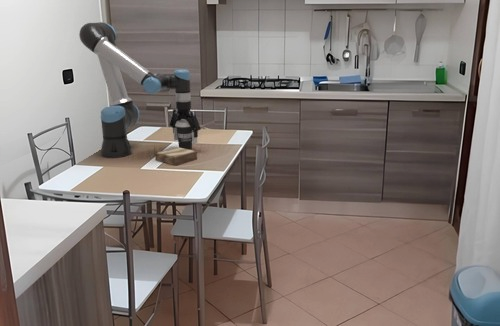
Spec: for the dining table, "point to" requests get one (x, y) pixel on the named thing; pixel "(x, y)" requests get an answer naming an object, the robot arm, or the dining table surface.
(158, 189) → the dining table surface
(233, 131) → the dining table surface
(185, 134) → the coffee cup
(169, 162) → the pedestal
